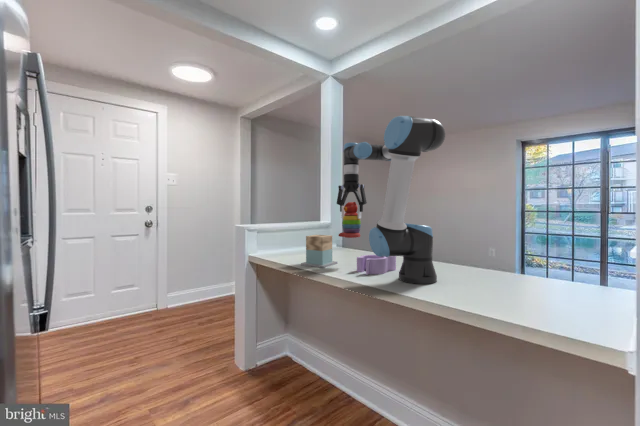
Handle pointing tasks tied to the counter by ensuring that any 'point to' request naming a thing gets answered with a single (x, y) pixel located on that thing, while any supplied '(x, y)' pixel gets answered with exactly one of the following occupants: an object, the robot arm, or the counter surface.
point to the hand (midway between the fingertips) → (351, 218)
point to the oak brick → (319, 242)
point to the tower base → (319, 258)
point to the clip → (376, 264)
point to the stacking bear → (351, 221)
